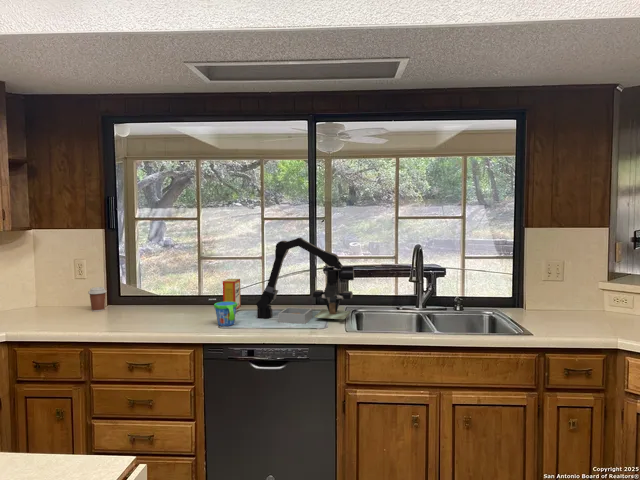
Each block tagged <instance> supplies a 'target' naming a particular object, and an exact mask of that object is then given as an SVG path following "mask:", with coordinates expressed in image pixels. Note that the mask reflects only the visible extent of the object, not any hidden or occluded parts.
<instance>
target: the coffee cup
mask: <svg viewBox="0 0 640 480" xmlns="http://www.w3.org/2000/svg"><path fill="white" fill-rule="evenodd" d="M107 291H108V290H106V289H105V287H104V286H103V287H102V286H97V287H91V288H90V289H89V291H88V293H87V294H88V295H89V299H90V307H91V308H90V309H91V312H103V311H105V310H106V309H105V307H106V293H107Z"/></svg>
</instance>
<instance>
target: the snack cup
mask: <svg viewBox="0 0 640 480" xmlns="http://www.w3.org/2000/svg"><path fill="white" fill-rule="evenodd" d="M213 306H214V309H215V315H216V320H217V325H218V326H221V327H229V326H233V325H234V324H235V321H236V313H237V309H236V307H237V303H236V302H231V301H226V302H223V301H217V302H216V303H214V304H213Z"/></svg>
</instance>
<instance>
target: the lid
mask: <svg viewBox="0 0 640 480" xmlns="http://www.w3.org/2000/svg"><path fill="white" fill-rule="evenodd" d="M335 308H336V302H330V304H329V311H328V309H321V310H320V311H318V312H317V313H316V314H315V315H314V318H319V319H332V320H333V319H334V320H345V319H346V318H347V317H348V316H349V315H350V314H351V310H337V312H336V311H335Z"/></svg>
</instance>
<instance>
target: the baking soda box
mask: <svg viewBox="0 0 640 480" xmlns="http://www.w3.org/2000/svg"><path fill="white" fill-rule="evenodd" d="M226 301H231V302H236V303H237V307H236V310H238V309H239V308H241V305H242V302H241V301H242V299H241V278H227V279H224V280H223V281H222V302H226Z"/></svg>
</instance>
